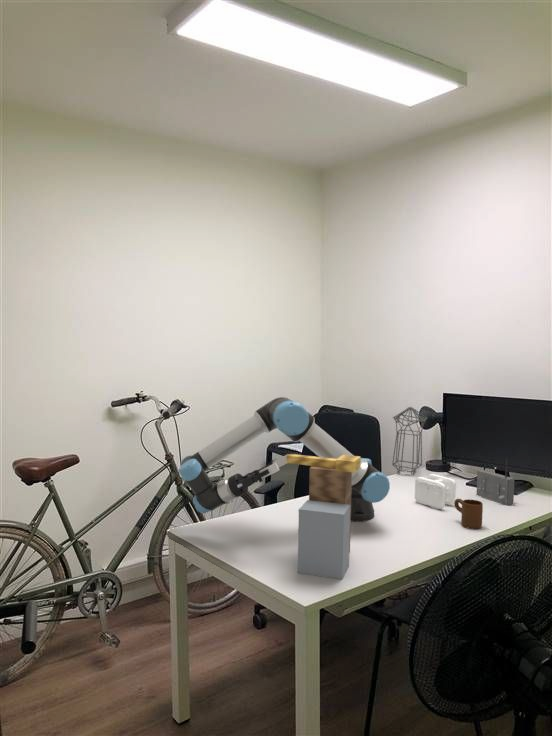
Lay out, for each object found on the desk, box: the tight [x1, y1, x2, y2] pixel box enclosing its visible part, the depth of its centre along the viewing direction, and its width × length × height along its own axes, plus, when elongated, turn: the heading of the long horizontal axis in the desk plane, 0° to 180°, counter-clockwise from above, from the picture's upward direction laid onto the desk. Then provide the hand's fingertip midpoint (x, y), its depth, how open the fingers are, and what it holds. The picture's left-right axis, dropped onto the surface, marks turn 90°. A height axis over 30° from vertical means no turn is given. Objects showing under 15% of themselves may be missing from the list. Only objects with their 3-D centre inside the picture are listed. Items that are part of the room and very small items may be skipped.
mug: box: [453, 498, 484, 530], centre depth 225 cm, size 12×8×9 cm, turn 34°
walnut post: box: [308, 466, 352, 554], centre depth 192 cm, size 12×10×30 cm
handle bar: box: [286, 453, 362, 473], centre depth 192 cm, size 24×8×4 cm, turn 67°
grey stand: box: [297, 499, 351, 580], centre depth 181 cm, size 14×10×20 cm
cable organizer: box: [414, 473, 457, 510], centre depth 250 cm, size 15×11×12 cm
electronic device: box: [476, 458, 515, 506], centre depth 257 cm, size 17×7×20 cm, turn 29°
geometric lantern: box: [391, 406, 428, 476], centre depth 302 cm, size 16×16×35 cm
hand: (283, 461), depth 196 cm, fingers open, 13 cm apart
